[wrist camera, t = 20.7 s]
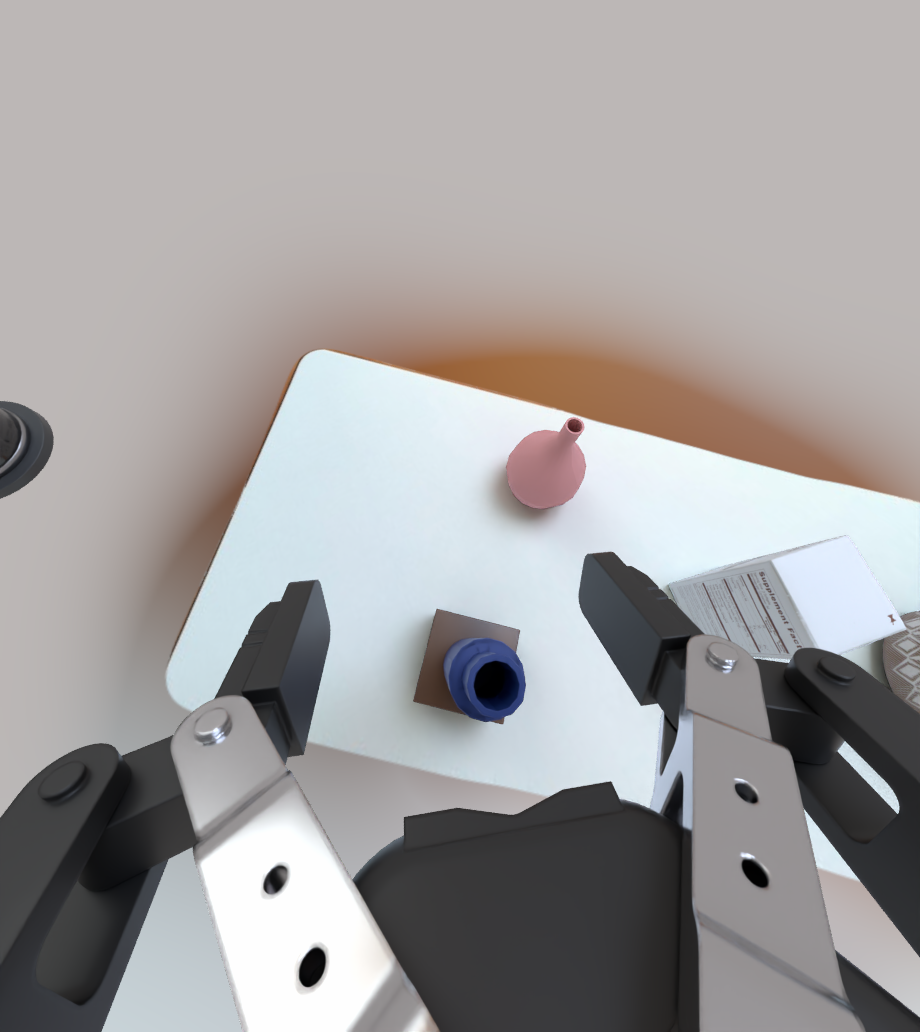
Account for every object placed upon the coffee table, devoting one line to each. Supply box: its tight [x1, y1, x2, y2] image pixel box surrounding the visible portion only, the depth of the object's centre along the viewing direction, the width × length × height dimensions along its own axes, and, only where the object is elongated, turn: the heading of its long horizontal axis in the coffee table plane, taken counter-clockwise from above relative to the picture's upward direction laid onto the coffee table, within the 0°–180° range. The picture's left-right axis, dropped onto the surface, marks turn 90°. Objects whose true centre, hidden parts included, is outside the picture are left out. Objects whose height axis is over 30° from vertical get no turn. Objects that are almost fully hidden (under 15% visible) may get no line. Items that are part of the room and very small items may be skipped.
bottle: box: [443, 638, 526, 722], centre depth 23 cm, size 4×4×13 cm
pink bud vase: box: [506, 417, 586, 509], centre depth 35 cm, size 8×8×12 cm
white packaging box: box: [669, 535, 906, 659], centre depth 32 cm, size 7×7×13 cm
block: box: [413, 609, 520, 724], centre depth 32 cm, size 7×7×6 cm
